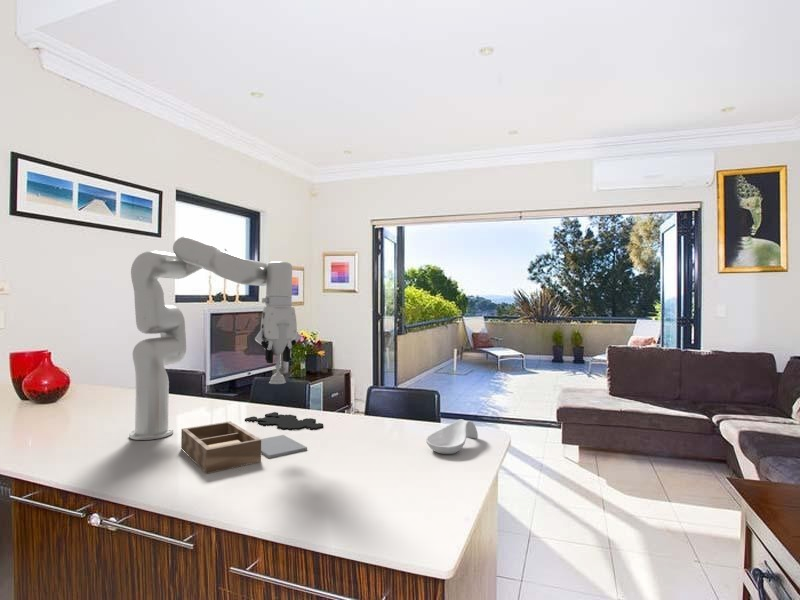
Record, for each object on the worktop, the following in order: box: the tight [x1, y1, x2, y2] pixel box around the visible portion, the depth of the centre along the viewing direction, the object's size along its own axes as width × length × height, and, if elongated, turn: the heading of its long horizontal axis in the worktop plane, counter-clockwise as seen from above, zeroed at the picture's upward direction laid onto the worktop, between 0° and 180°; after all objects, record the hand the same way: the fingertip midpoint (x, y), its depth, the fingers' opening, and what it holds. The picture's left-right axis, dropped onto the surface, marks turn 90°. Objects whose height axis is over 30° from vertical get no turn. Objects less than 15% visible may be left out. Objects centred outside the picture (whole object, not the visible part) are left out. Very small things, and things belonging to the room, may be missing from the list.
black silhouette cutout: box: [244, 411, 324, 431], centre depth 167 cm, size 16×1×30 cm
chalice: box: [268, 324, 289, 385], centre depth 139 cm, size 7×7×18 cm
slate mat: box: [260, 434, 308, 459], centre depth 139 cm, size 16×12×1 cm
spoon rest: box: [425, 418, 479, 455], centre depth 142 cm, size 24×12×7 cm, turn 146°
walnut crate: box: [180, 420, 262, 474], centre depth 131 cm, size 24×14×6 cm, turn 40°
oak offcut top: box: [207, 440, 240, 448], centre depth 127 cm, size 8×9×2 cm
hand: (277, 361), depth 139 cm, fingers closed on chalice, 4 cm apart
